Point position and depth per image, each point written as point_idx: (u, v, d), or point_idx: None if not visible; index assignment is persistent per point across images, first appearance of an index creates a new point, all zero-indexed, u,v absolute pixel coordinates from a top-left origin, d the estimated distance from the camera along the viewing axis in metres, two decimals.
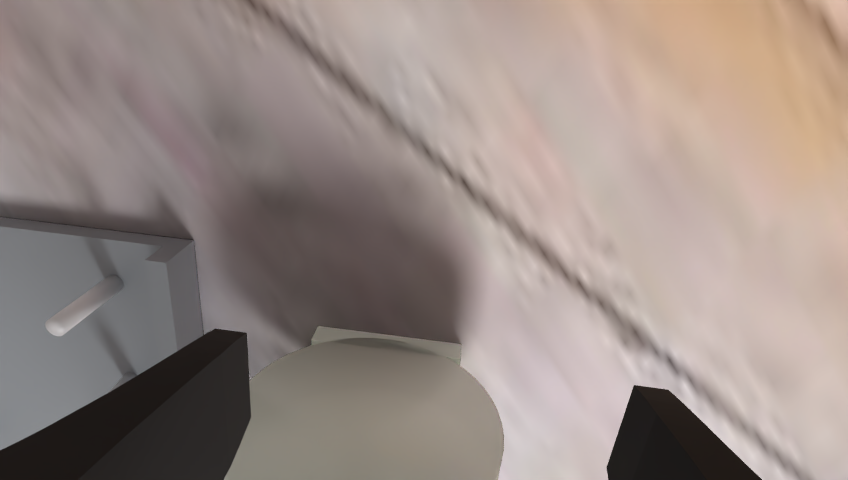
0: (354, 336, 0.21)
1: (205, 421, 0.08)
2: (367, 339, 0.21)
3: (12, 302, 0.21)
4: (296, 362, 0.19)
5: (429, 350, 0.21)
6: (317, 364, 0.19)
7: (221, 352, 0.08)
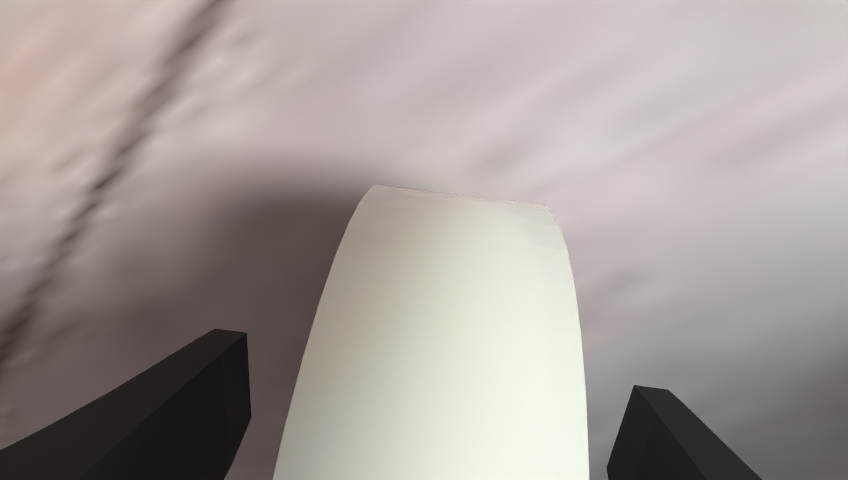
0: None
1: (205, 421, 0.08)
2: None
3: None
4: None
5: None
6: None
7: (221, 352, 0.08)
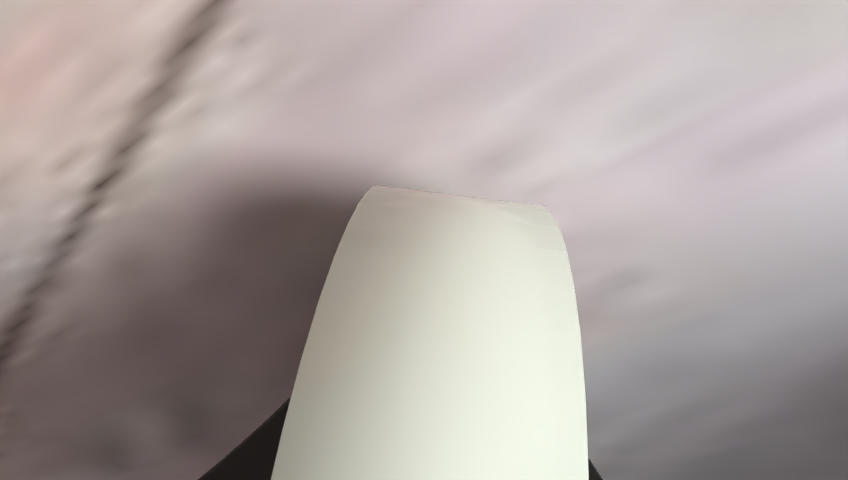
0: None
1: None
2: None
3: None
4: None
5: None
6: None
7: None
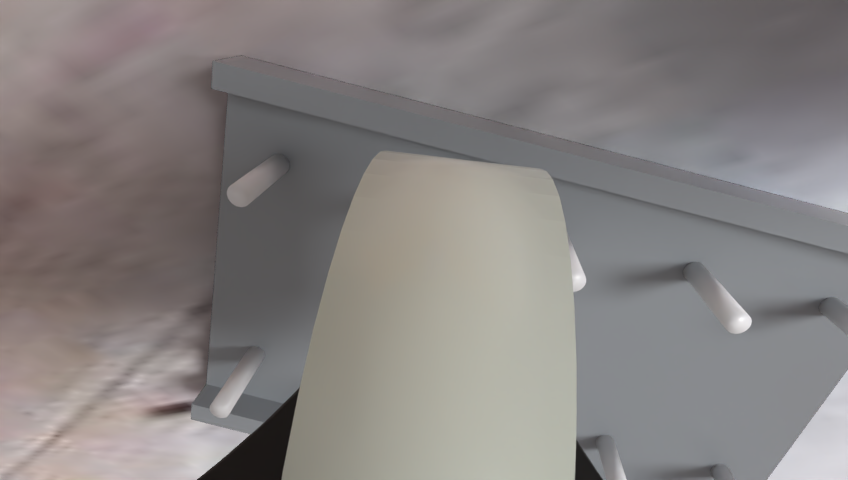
0: None
1: None
2: None
3: (305, 292, 0.19)
4: None
5: None
6: None
7: None
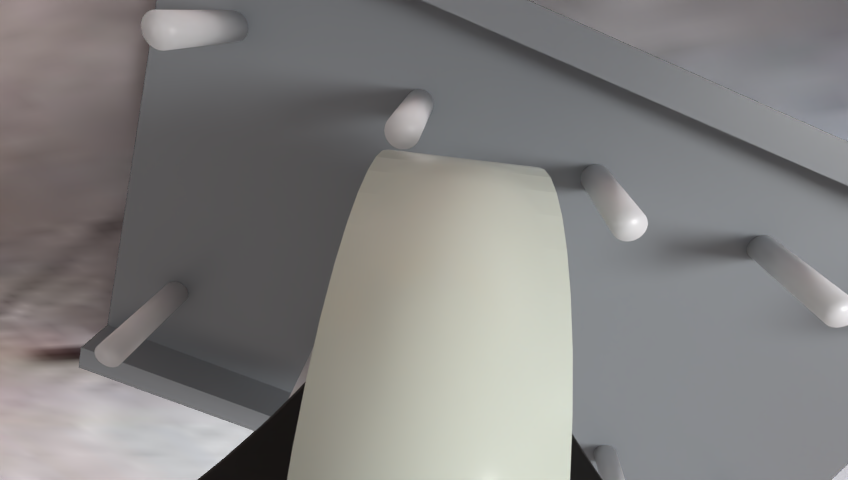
0: None
1: None
2: None
3: (251, 216, 0.14)
4: None
5: None
6: None
7: None
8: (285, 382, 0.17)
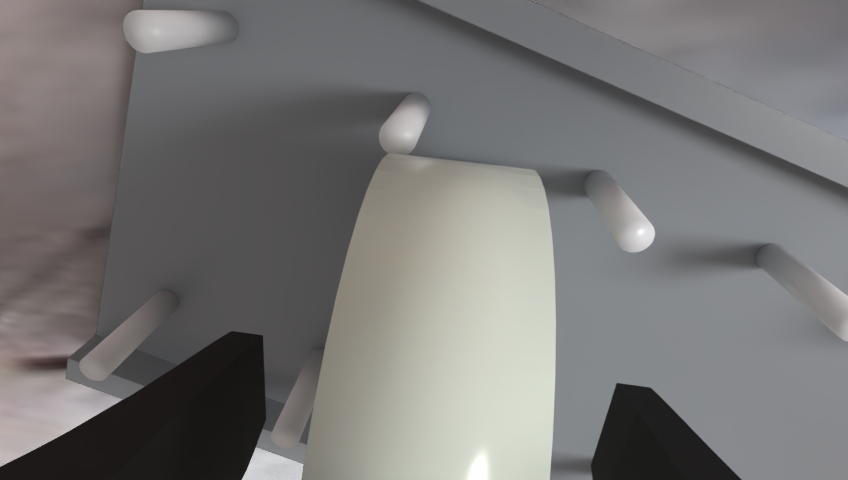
0: None
1: (223, 424, 0.08)
2: None
3: (243, 223, 0.14)
4: None
5: None
6: None
7: (239, 355, 0.08)
8: (279, 393, 0.16)
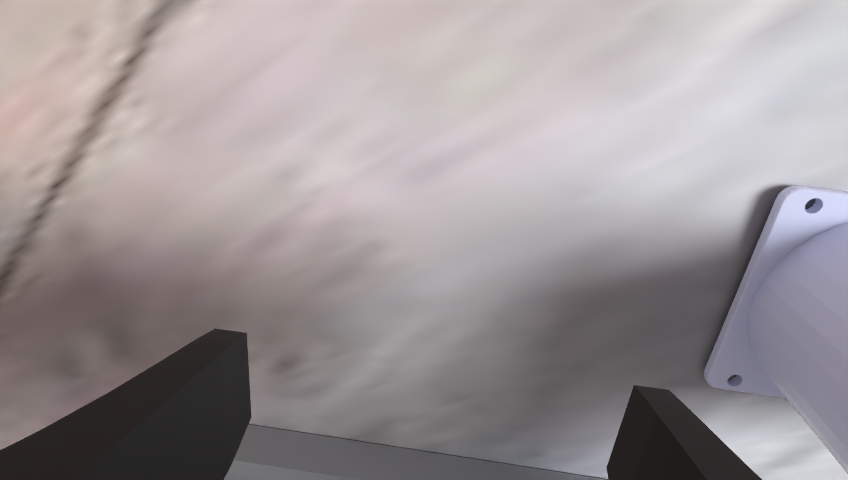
0: None
1: (205, 421, 0.08)
2: None
3: None
4: None
5: None
6: None
7: (221, 352, 0.08)
8: None
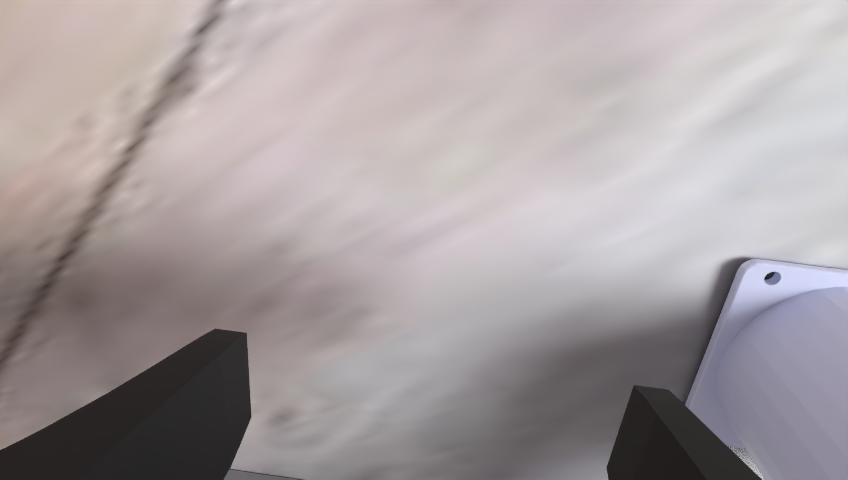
0: None
1: (205, 421, 0.08)
2: None
3: None
4: None
5: None
6: None
7: (221, 352, 0.08)
8: None
